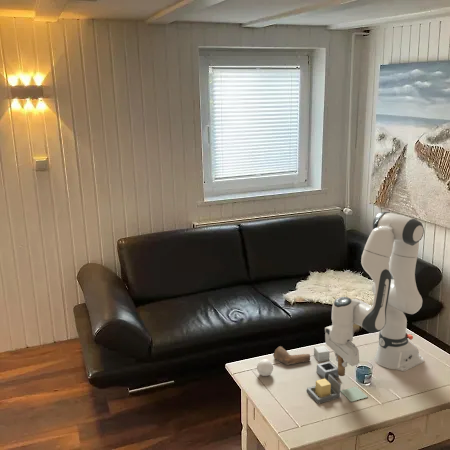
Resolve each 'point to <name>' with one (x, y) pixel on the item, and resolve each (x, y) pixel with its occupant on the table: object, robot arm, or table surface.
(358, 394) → the pad
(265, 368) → the white ovoid
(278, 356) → the pipe
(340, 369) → the rod
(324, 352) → the small box
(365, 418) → the table surface
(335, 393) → the case
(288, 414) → the table surface
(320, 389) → the block
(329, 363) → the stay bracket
